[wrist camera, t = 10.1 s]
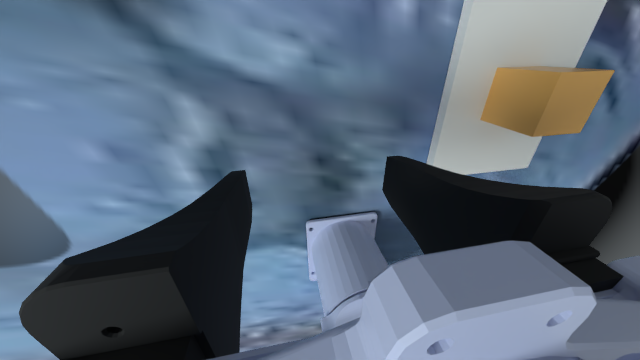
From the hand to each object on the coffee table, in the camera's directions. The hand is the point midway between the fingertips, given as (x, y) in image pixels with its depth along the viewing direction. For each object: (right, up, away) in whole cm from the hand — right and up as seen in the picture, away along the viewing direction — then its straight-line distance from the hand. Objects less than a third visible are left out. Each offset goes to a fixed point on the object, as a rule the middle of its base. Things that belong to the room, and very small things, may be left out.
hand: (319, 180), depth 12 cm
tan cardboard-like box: (+17, +8, +9) cm, 21 cm away
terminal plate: (+17, +8, +10) cm, 21 cm away
